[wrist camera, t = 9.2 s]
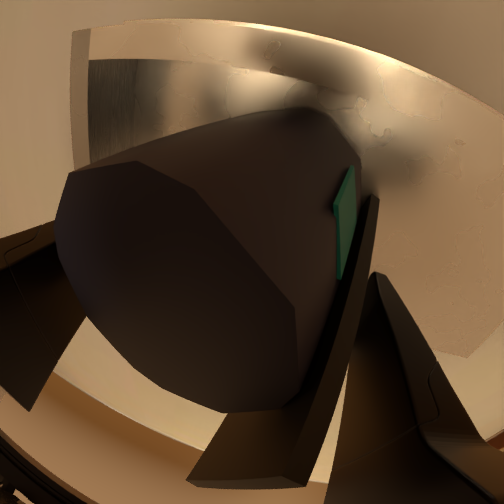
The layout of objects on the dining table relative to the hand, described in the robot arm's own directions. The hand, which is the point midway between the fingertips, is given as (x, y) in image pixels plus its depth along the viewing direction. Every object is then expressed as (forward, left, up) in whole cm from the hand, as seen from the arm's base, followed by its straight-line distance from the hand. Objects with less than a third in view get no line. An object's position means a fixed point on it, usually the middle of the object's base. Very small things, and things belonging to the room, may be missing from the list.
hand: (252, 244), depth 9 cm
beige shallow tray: (-3, 0, -4) cm, 5 cm away
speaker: (0, 0, -4) cm, 4 cm away
